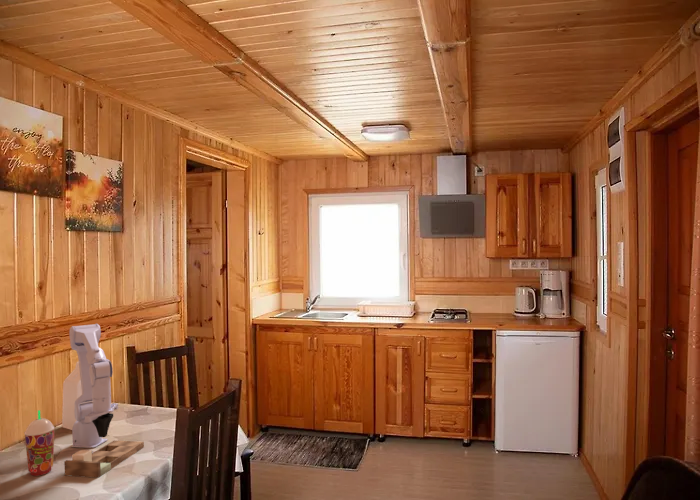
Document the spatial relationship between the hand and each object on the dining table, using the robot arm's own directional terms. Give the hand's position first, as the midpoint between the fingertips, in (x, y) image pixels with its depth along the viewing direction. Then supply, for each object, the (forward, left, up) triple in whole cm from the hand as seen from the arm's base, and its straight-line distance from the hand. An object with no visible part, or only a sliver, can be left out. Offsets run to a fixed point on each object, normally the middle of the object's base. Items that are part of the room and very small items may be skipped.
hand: (102, 436), depth 173 cm
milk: (-31, +31, -8) cm, 45 cm away
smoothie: (-13, -12, -8) cm, 20 cm away
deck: (+3, -1, -8) cm, 8 cm away
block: (0, -10, -6) cm, 12 cm away
